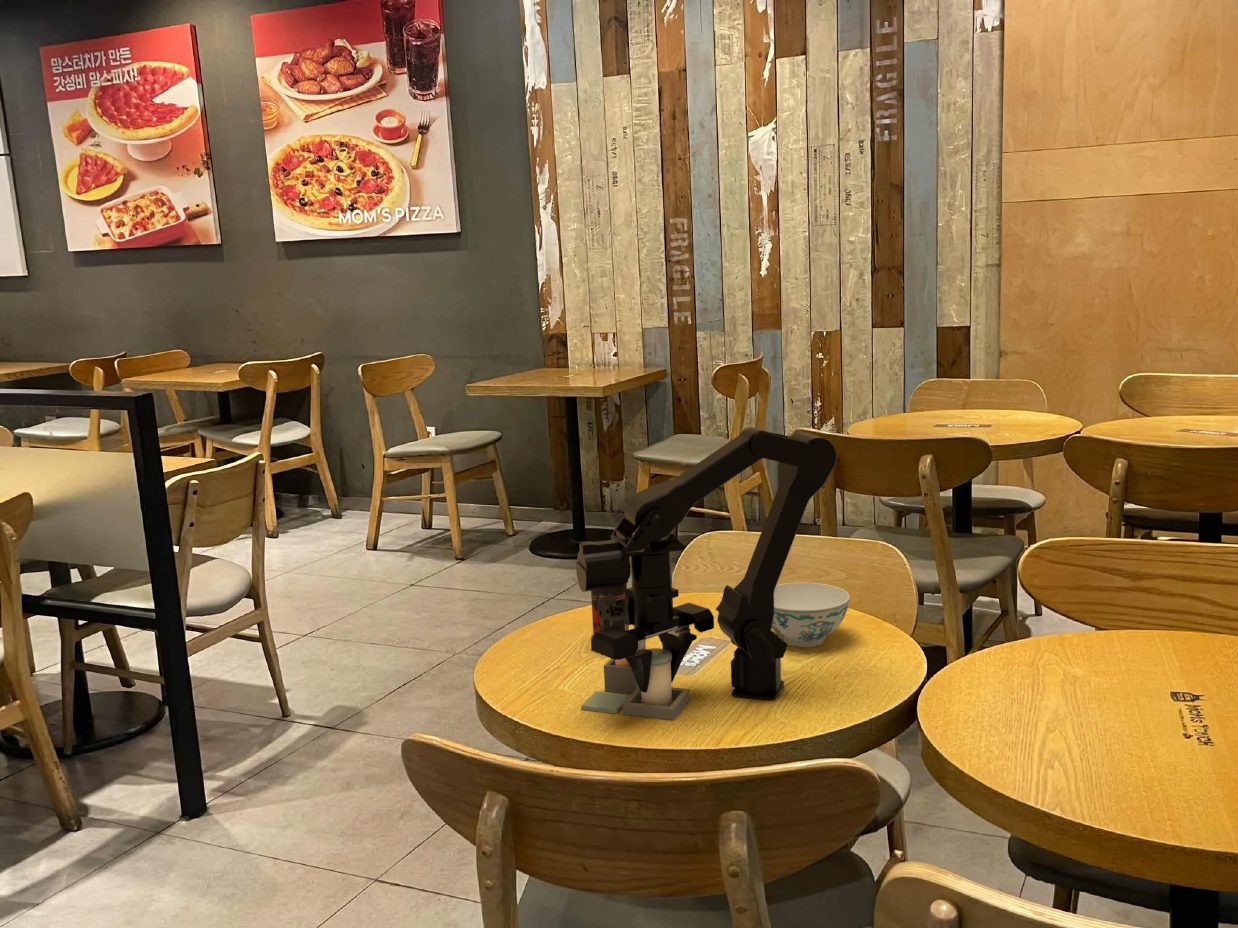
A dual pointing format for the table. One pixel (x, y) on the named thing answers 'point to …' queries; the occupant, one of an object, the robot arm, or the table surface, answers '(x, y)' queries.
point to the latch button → (622, 662)
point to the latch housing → (619, 678)
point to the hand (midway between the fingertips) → (656, 686)
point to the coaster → (605, 702)
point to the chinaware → (808, 612)
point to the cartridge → (659, 679)
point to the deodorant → (597, 621)
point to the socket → (656, 711)
